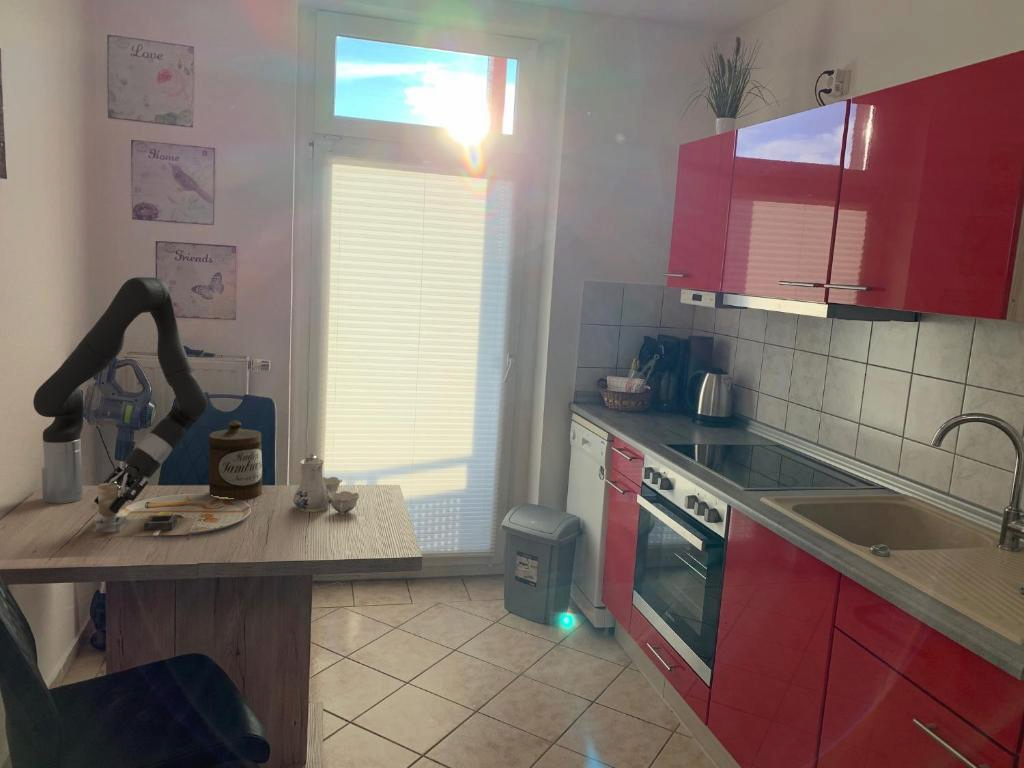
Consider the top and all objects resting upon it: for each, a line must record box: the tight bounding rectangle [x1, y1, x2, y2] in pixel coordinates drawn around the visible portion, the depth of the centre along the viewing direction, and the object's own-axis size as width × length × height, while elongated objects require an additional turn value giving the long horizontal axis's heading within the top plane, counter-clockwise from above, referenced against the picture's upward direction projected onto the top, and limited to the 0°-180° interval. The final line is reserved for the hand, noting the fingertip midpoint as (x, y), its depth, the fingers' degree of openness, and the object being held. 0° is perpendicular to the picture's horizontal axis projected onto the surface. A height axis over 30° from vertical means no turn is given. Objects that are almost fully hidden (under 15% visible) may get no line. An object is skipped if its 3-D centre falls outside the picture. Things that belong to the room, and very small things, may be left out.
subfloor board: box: [76, 511, 198, 541], centre depth 203 cm, size 25×14×4 cm, turn 102°
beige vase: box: [97, 482, 120, 523], centre depth 201 cm, size 4×4×11 cm
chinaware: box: [292, 451, 360, 516], centre depth 231 cm, size 28×17×17 cm, turn 34°
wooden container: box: [208, 420, 263, 501], centre depth 240 cm, size 15×15×22 cm
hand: (104, 507), depth 200 cm, fingers open, 8 cm apart
